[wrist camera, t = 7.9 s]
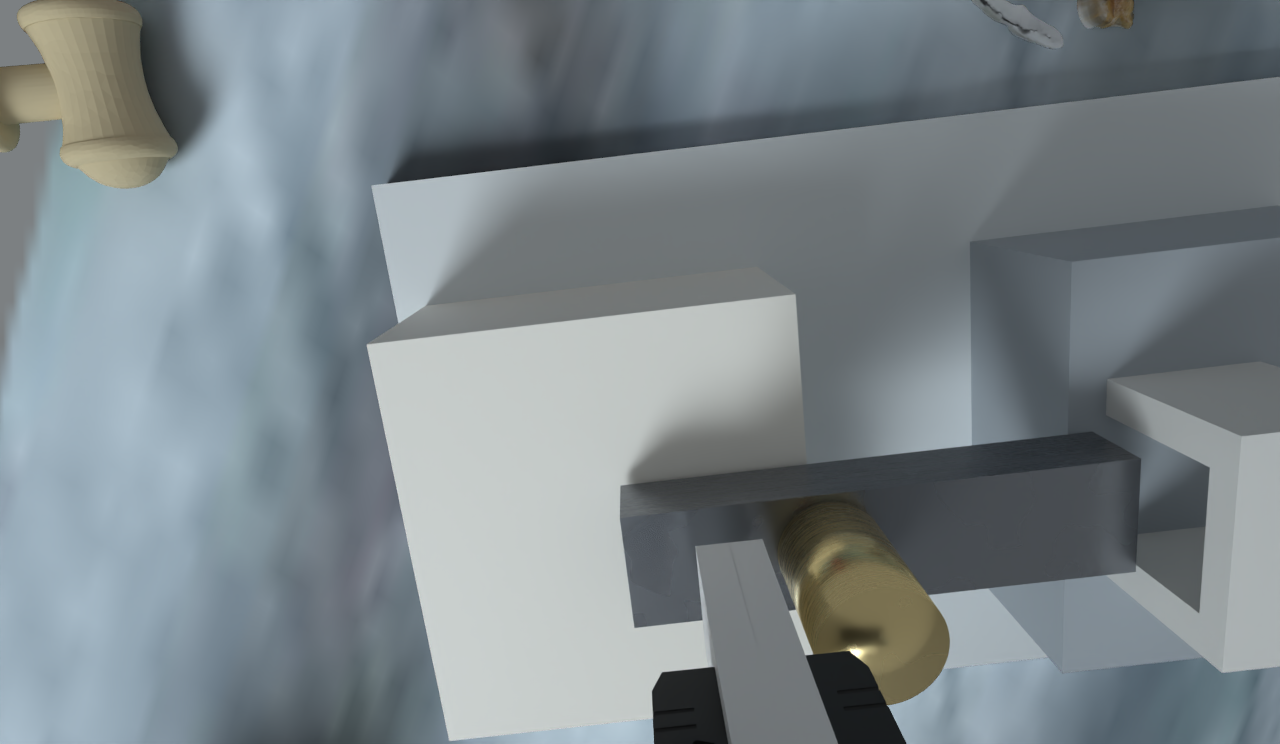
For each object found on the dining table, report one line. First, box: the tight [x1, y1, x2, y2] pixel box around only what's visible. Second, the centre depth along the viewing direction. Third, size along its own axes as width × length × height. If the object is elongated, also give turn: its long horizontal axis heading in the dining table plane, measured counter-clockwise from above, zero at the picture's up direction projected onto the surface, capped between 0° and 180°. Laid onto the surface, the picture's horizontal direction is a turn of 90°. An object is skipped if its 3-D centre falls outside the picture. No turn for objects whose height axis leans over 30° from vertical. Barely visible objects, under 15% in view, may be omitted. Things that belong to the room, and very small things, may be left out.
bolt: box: [620, 432, 1141, 705], centre depth 18 cm, size 3×12×6 cm, turn 97°
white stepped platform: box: [367, 77, 1280, 741], centre depth 23 cm, size 20×30×12 cm, turn 97°
